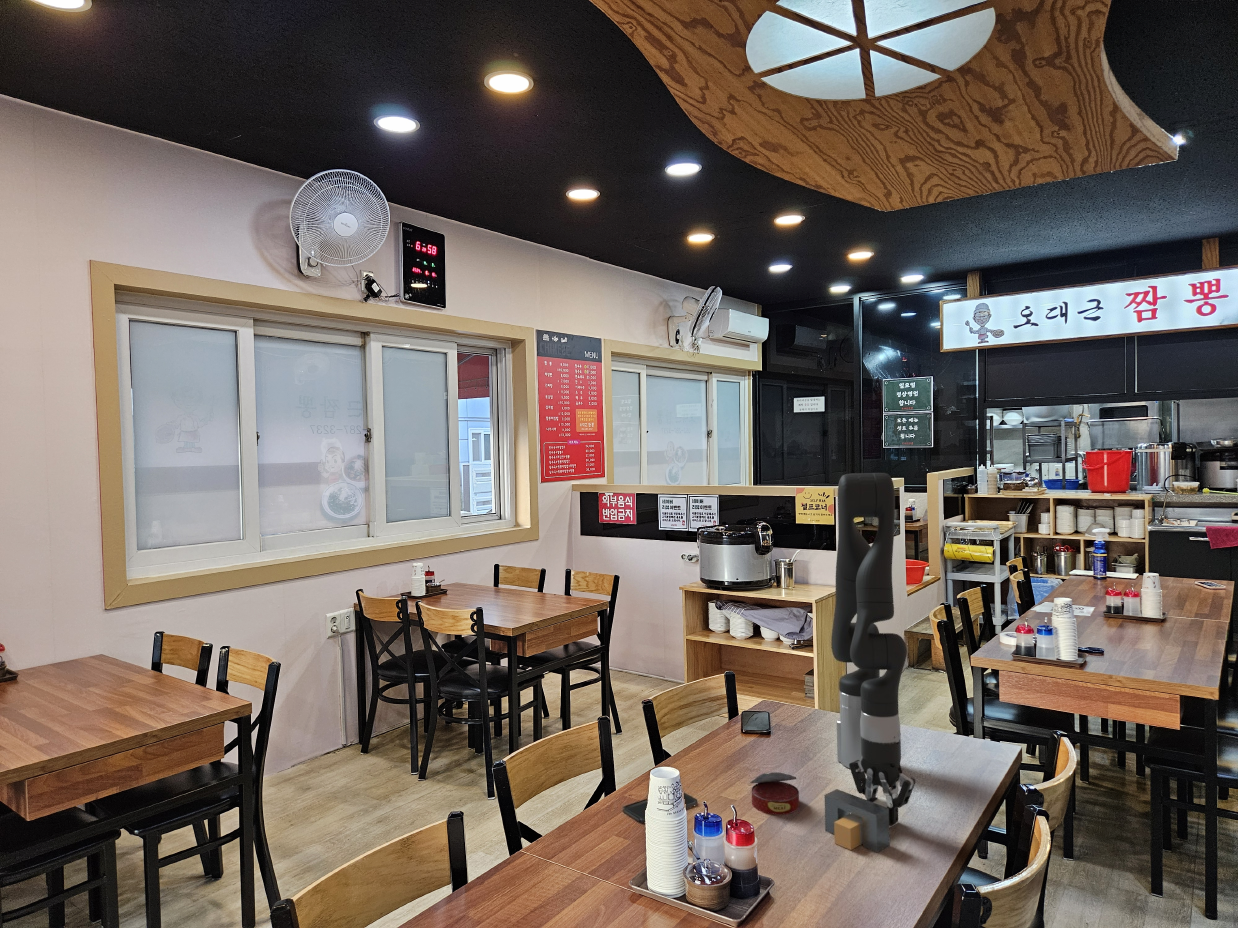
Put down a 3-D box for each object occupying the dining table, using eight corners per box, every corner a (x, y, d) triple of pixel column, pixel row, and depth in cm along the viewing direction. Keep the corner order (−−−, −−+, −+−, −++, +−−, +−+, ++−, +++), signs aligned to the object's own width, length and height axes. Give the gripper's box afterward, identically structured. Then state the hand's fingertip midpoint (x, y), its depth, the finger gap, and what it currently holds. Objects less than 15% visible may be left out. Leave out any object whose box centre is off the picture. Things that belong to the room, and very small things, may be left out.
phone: (620, 807, 165) (677, 788, 173) (620, 812, 165) (677, 793, 173) (642, 820, 158) (699, 800, 167) (642, 826, 158) (700, 805, 167)
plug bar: (834, 843, 149) (834, 822, 149) (882, 816, 159) (881, 796, 159) (850, 849, 146) (850, 828, 146) (898, 822, 156) (897, 802, 156)
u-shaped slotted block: (825, 830, 154) (824, 794, 154) (837, 823, 156) (836, 788, 156) (877, 852, 145) (876, 814, 145) (889, 845, 147) (888, 808, 147)
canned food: (754, 830, 164) (731, 785, 166) (775, 807, 172) (753, 764, 174) (797, 819, 158) (772, 772, 160) (817, 795, 166) (793, 751, 168)
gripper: (838, 729, 159) (841, 814, 159) (902, 748, 148) (905, 839, 148) (860, 720, 163) (862, 803, 164) (923, 738, 152) (926, 826, 153)
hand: (882, 820), depth 156 cm, fingers closed on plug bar, 3 cm apart
